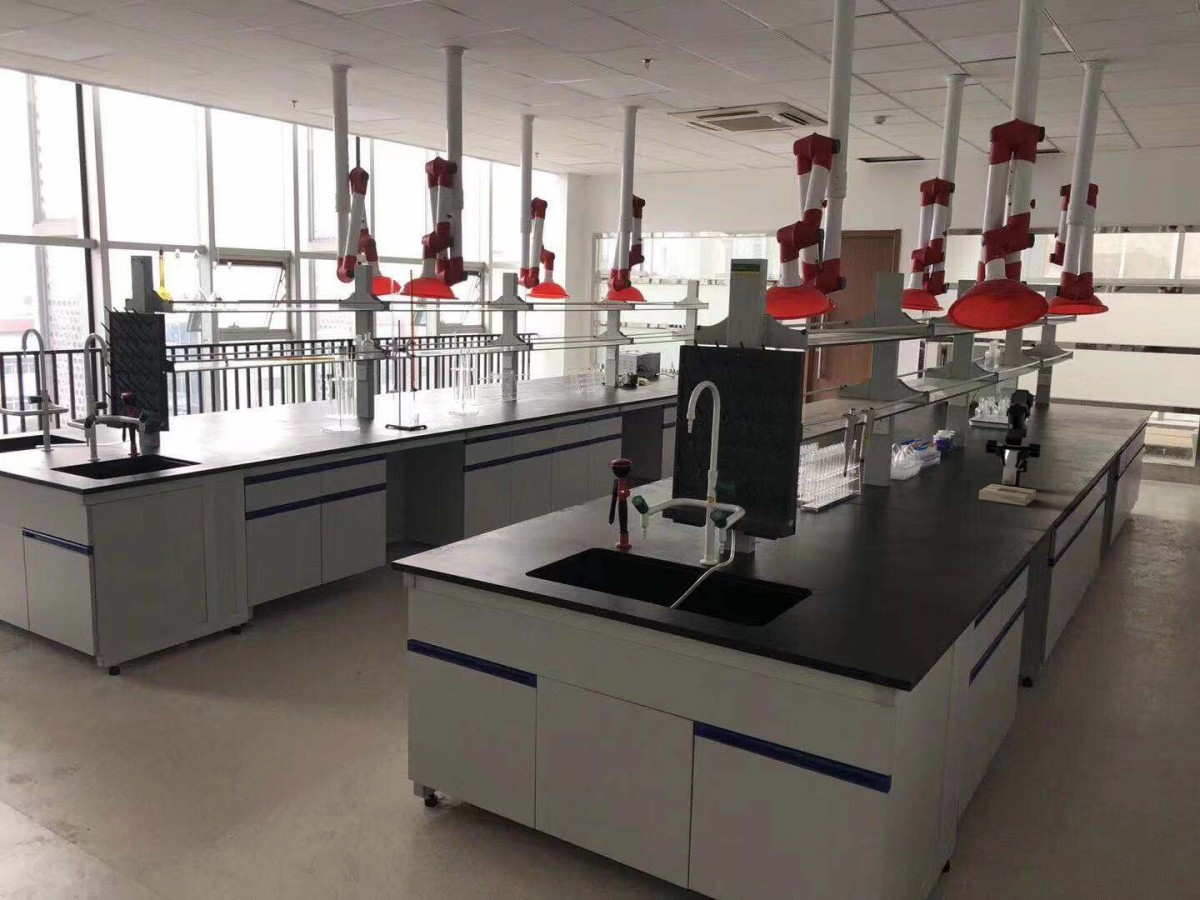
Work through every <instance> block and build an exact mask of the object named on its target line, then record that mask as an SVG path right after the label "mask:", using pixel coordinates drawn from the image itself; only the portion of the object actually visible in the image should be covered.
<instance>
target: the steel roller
mask: <svg viewBox="0 0 1200 900" xmlns="http://www.w3.org/2000/svg"><path fill="white" fill-rule="evenodd" d="M1004 456H1005V459H1004V469H1003V472H1002V481H1001V483H1002V484H1008V485H1014V484H1015V480H1016V470H1017V460H1018V450H1012V449H1006V450H1004Z"/></svg>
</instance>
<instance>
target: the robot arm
mask: <svg viewBox="0 0 1200 900" xmlns="http://www.w3.org/2000/svg"><path fill="white" fill-rule="evenodd" d="M1034 397H1035V395H1034V394H1032V393H1031V392H1030V390H1028V389H1025V388H1024V389H1022V388H1017V389H1015V391H1014V392H1013V393H1011V395H1010V404H1009V407H1007V409H1006V411H1005V417H1006V418H1007V428H1006V433H1005V437H1004V443H1003V442H998V441H999V440H998V439H991V438H988V439H986V441H985V450H984V451H985V453H986V454H992V455H995V456H997V457H998V458H999V461H1000V464H1001V471H1003V469H1004V459H1005V450H1006V449H1012V450H1018V460H1017V470H1016V480H1015V484H1014V485H1008V484H1003V483H1002V484H1001V485H1002V486H1009V487H1016V488H1022V487H1023V484H1021V479H1022V478H1021V477H1022V474H1024V473H1025V474H1026V473H1027V472H1028V465H1029V464H1028V463H1029V462H1028V460H1027V459H1030V458H1035V459H1039V458H1041V457H1040V456H1041V446H1042V445H1041V444H1040V443H1035V442H1029V443H1028V446H1027V445H1026V446H1025V445H1023V440H1024V439H1027V435H1028V428H1025V425H1026V421H1027V419H1029V418H1030V417H1031V413H1032V412H1031V410H1032V408H1034V400H1035V398H1034Z"/></svg>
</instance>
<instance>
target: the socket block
mask: <svg viewBox="0 0 1200 900" xmlns="http://www.w3.org/2000/svg"><path fill="white" fill-rule="evenodd" d="M1036 490H1037V489H1029V488H1023V487H1020V488H1016V487H1009V486H1002V484H1001V485H999V484H995V483H991V484H989V485H987V486H985V487H983V488H981V489H980V490H979V493H978V500H979V501H984V502H989V503H998V504H1004V505H1011V506H1017V507H1024V508H1025V507H1027V506H1028V505H1029V504H1031V503H1032V502H1033V501H1035V500H1036V493H1037V491H1036Z"/></svg>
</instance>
